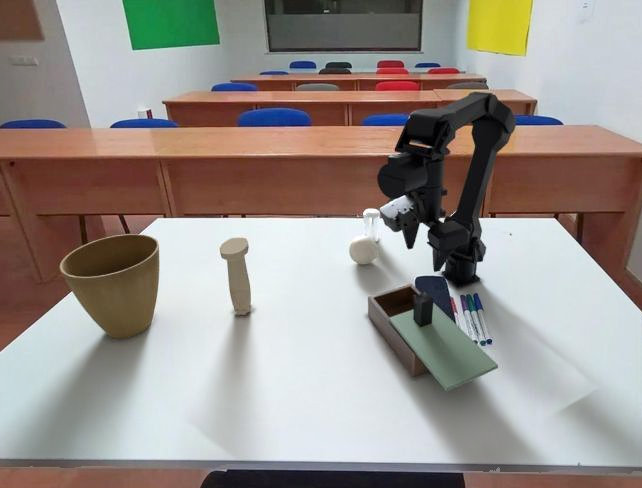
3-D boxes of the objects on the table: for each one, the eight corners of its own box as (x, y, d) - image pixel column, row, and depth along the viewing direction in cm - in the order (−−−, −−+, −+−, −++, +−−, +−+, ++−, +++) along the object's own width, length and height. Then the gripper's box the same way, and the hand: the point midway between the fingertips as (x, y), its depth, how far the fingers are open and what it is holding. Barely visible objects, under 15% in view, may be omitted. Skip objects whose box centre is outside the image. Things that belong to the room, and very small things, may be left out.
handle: (258, 301, 83) (250, 237, 77) (251, 321, 77) (242, 253, 71) (235, 301, 82) (226, 237, 77) (226, 322, 76) (215, 254, 71)
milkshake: (381, 245, 105) (381, 211, 102) (361, 243, 106) (361, 209, 103) (384, 237, 109) (384, 204, 106) (365, 235, 110) (365, 203, 107)
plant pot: (63, 342, 71) (37, 266, 66) (135, 295, 84) (119, 228, 79) (124, 364, 66) (101, 284, 61) (190, 311, 79) (177, 240, 74)
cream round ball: (369, 273, 93) (369, 247, 90) (344, 264, 96) (343, 239, 94) (383, 260, 98) (384, 236, 96) (359, 252, 102) (359, 229, 99)
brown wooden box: (410, 301, 82) (411, 283, 81) (462, 356, 68) (464, 335, 67) (367, 315, 78) (367, 296, 77) (413, 376, 64) (414, 354, 62)
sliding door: (433, 305, 74) (435, 279, 72) (498, 368, 60) (502, 338, 58) (388, 320, 70) (389, 293, 68) (446, 391, 56) (449, 360, 54)
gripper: (363, 174, 74) (363, 247, 80) (416, 209, 59) (412, 297, 64) (413, 166, 79) (410, 235, 84) (475, 197, 63) (467, 280, 69)
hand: (422, 259), depth 75 cm, fingers open, 9 cm apart
